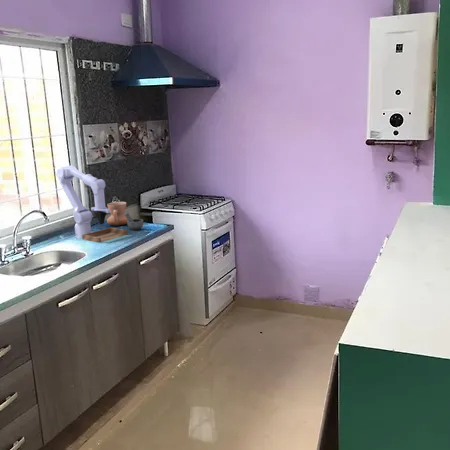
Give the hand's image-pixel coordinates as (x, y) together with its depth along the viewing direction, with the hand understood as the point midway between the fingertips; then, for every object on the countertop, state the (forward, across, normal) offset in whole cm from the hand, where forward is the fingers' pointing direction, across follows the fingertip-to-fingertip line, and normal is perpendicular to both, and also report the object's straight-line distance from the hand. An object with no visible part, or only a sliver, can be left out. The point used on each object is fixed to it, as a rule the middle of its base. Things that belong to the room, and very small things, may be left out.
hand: (101, 223), depth 308 cm
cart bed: (+9, -1, -1) cm, 9 cm away
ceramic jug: (+10, +22, -31) cm, 39 cm away
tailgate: (+8, -8, -1) cm, 12 cm away
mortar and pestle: (+10, -2, -23) cm, 25 cm away
